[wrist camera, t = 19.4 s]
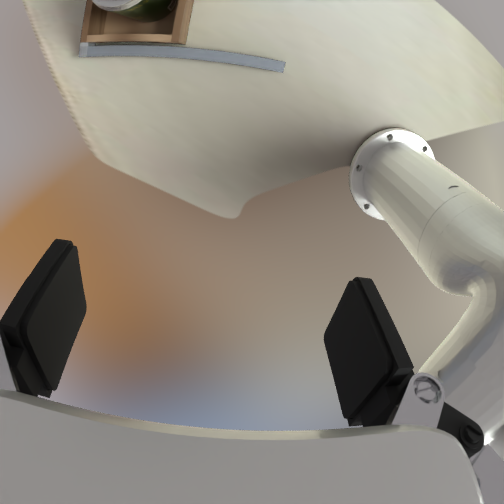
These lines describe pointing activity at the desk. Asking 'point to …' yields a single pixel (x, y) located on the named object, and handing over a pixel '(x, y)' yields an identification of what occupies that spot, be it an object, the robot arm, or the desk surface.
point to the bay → (180, 54)
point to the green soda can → (139, 8)
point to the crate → (135, 26)
